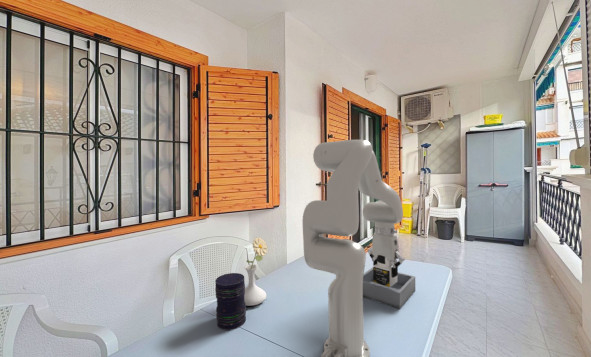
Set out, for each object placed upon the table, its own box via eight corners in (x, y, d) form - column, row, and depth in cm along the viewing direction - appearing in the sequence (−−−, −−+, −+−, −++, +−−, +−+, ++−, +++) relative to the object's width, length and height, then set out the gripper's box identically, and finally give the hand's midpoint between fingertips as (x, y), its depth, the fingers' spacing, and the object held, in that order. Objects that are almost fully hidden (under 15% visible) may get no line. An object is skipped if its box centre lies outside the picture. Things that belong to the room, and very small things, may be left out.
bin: (399, 309, 93) (399, 293, 93) (355, 294, 105) (354, 279, 105) (415, 290, 107) (415, 276, 107) (374, 279, 119) (373, 266, 118)
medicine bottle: (373, 282, 106) (372, 253, 105) (381, 277, 111) (380, 249, 110) (389, 288, 101) (389, 257, 100) (397, 282, 106) (397, 253, 105)
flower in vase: (246, 312, 94) (244, 244, 93) (232, 300, 103) (230, 238, 102) (275, 300, 102) (273, 237, 101) (260, 290, 111) (258, 232, 110)
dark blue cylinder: (211, 329, 85) (209, 284, 84) (223, 312, 94) (222, 272, 94) (240, 331, 83) (238, 285, 83) (250, 314, 93) (248, 273, 92)
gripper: (409, 233, 101) (410, 277, 101) (371, 226, 114) (372, 265, 115) (399, 236, 96) (400, 283, 97) (361, 228, 109) (362, 269, 110)
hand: (385, 273), depth 106 cm, fingers closed on medicine bottle, 7 cm apart
